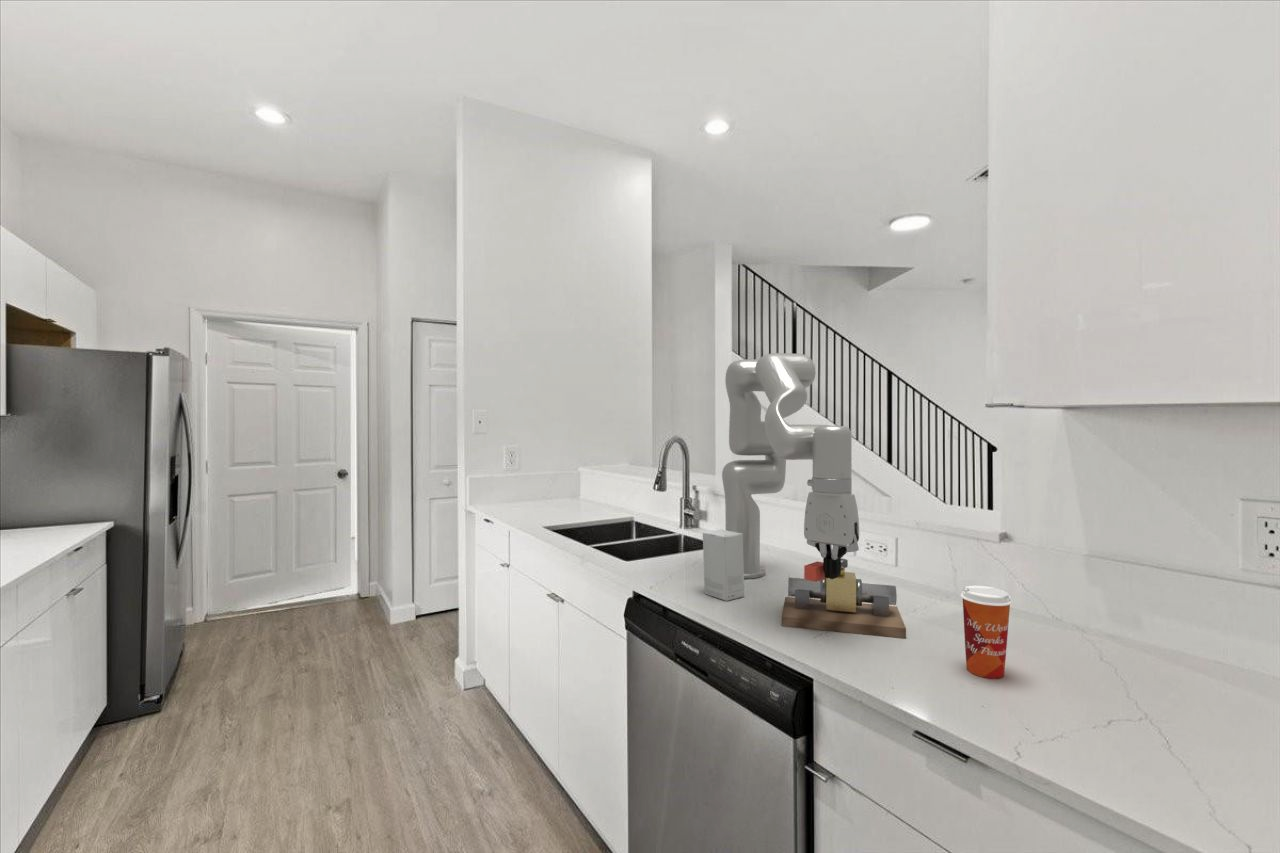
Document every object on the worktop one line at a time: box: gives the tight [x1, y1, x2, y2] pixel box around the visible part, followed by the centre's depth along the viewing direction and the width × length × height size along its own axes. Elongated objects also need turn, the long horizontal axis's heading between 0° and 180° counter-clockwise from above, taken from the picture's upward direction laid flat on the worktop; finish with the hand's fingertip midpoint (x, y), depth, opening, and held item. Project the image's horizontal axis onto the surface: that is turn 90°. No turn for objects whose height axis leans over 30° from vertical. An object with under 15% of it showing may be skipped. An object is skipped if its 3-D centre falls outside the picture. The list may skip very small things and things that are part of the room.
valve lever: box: [803, 557, 849, 582], centre depth 124 cm, size 14×3×3 cm, turn 133°
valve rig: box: [781, 568, 907, 639], centre depth 127 cm, size 24×14×11 cm, turn 73°
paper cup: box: [960, 585, 1014, 680], centre depth 102 cm, size 8×8×14 cm
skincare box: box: [702, 528, 745, 602], centre depth 145 cm, size 8×7×16 cm
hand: (832, 577), depth 119 cm, fingers closed
